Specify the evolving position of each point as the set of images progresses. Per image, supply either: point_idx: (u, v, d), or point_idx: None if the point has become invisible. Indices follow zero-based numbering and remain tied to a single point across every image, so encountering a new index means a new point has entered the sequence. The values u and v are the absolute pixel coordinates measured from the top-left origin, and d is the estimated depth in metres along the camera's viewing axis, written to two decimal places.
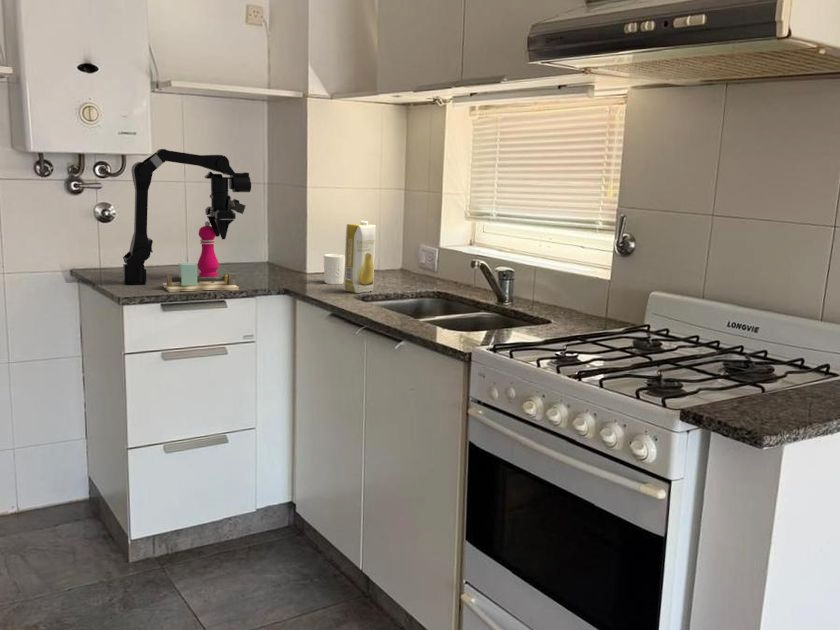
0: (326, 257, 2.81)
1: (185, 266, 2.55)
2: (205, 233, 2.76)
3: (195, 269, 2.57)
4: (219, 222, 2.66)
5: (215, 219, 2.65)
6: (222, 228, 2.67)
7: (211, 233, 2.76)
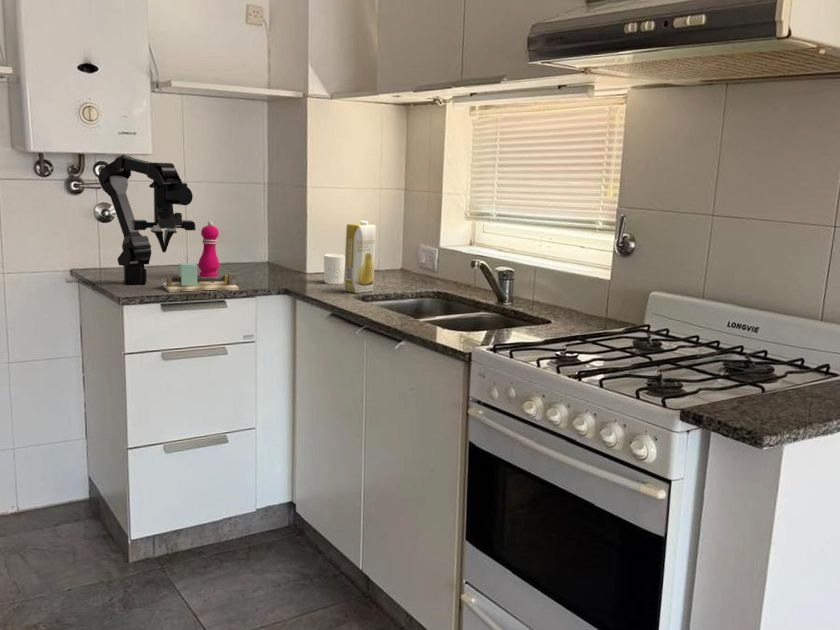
0: (326, 257, 2.81)
1: (185, 266, 2.55)
2: (207, 232, 2.76)
3: (195, 269, 2.57)
4: (156, 233, 2.52)
5: None
6: (159, 240, 2.52)
7: (213, 232, 2.77)
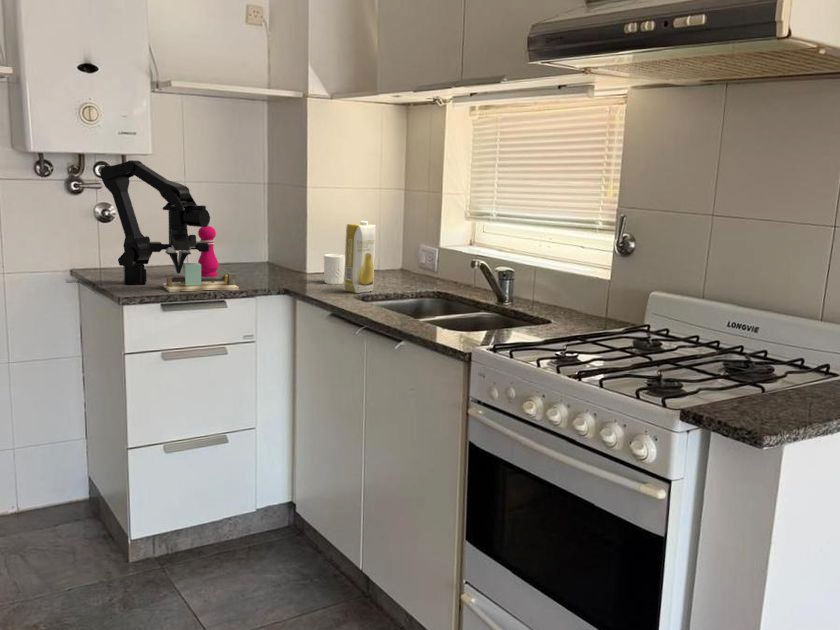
0: (326, 257, 2.81)
1: (189, 266, 2.56)
2: (204, 233, 2.75)
3: (199, 269, 2.57)
4: (170, 254, 2.56)
5: None
6: (173, 261, 2.55)
7: (210, 233, 2.76)
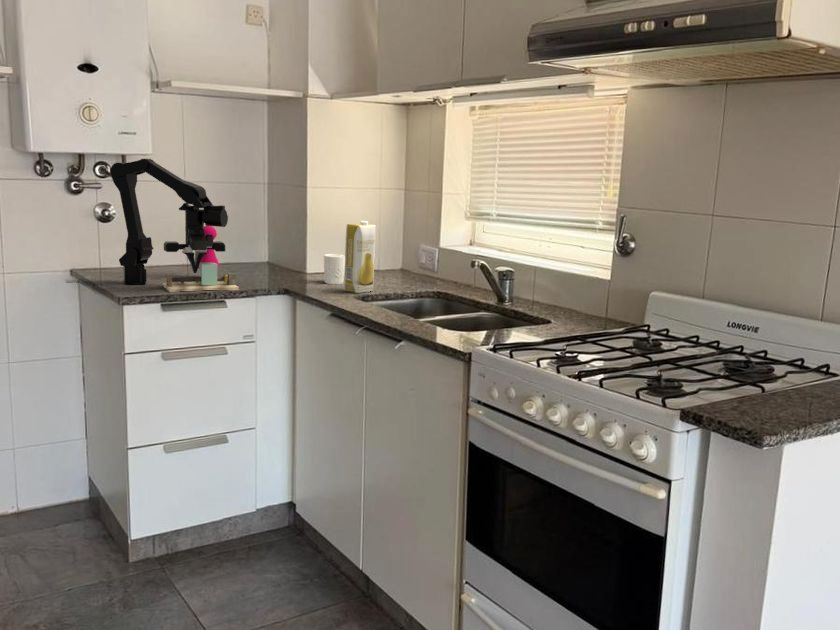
0: (326, 257, 2.81)
1: (205, 266, 2.58)
2: (204, 233, 2.75)
3: (215, 269, 2.60)
4: (187, 254, 2.58)
5: None
6: (190, 261, 2.58)
7: (210, 233, 2.76)
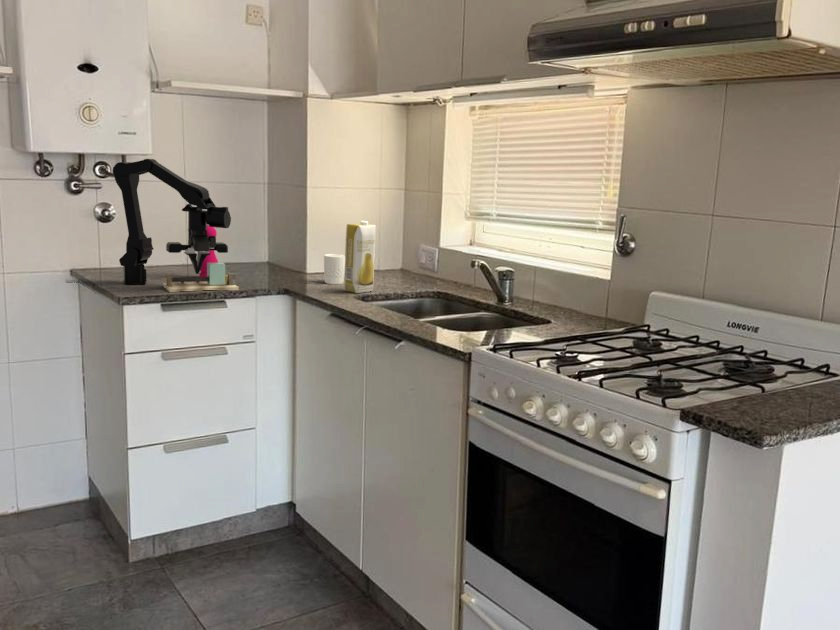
0: (326, 257, 2.81)
1: (213, 266, 2.59)
2: None
3: (223, 268, 2.61)
4: (189, 255, 2.59)
5: None
6: (192, 261, 2.58)
7: (210, 233, 2.76)
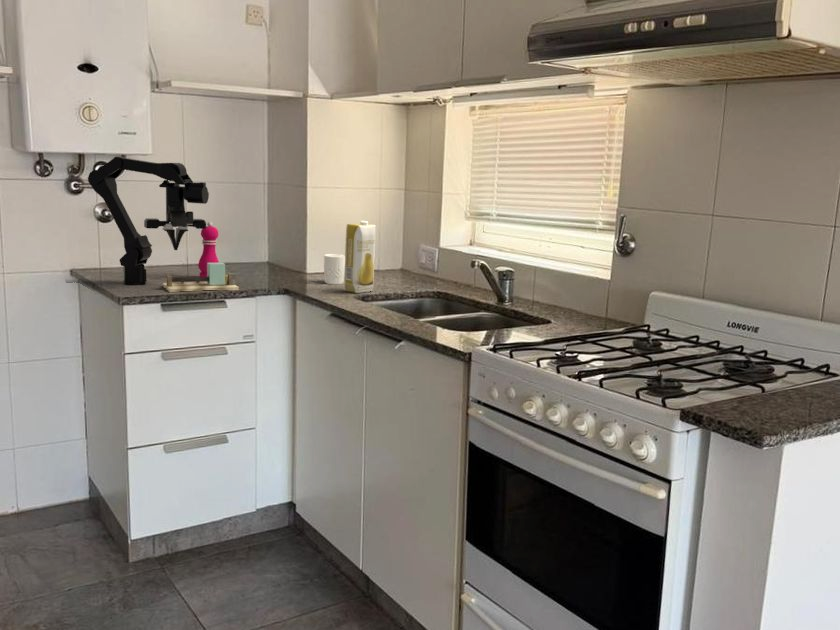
0: (326, 257, 2.81)
1: (213, 266, 2.59)
2: (206, 233, 2.75)
3: (223, 268, 2.61)
4: (167, 231, 2.59)
5: None
6: (170, 238, 2.58)
7: (212, 233, 2.76)
